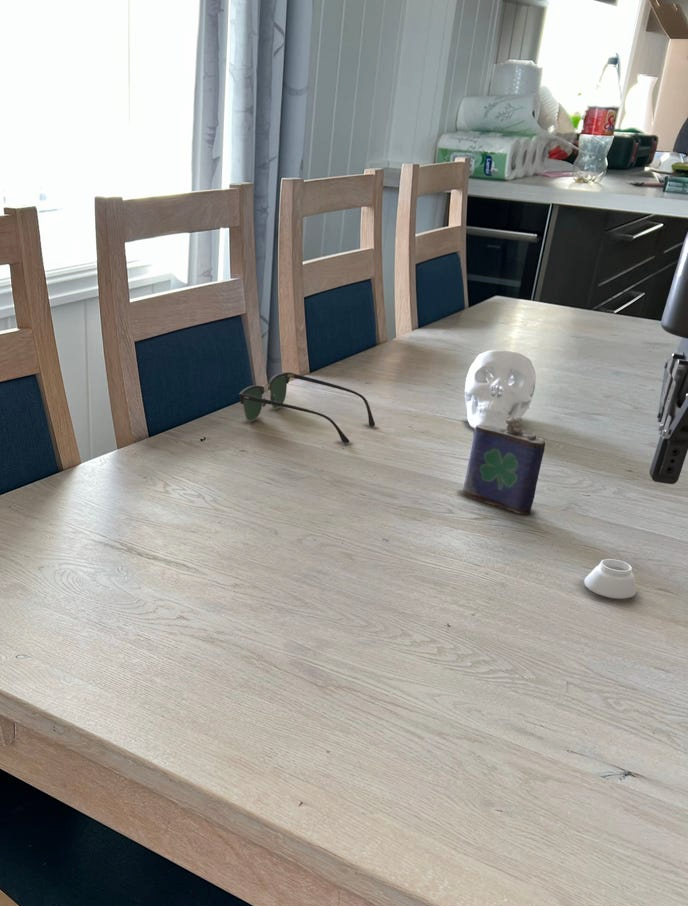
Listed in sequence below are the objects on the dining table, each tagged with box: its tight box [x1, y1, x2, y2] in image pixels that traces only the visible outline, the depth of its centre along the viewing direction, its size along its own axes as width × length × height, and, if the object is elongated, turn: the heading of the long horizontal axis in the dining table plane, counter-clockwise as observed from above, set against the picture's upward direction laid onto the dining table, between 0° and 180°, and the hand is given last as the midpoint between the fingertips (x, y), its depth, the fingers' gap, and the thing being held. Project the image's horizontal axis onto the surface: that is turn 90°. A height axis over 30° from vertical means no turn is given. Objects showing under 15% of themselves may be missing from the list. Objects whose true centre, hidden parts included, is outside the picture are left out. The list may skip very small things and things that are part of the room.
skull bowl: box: [464, 349, 537, 430], centre depth 151 cm, size 10×14×12 cm
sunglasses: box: [238, 371, 376, 444], centre depth 145 cm, size 16×17×5 cm
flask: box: [462, 417, 546, 515], centre depth 119 cm, size 9×3×11 cm, turn 46°
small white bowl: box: [583, 558, 638, 600], centre depth 100 cm, size 5×3×5 cm
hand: (662, 479), depth 87 cm, fingers closed
